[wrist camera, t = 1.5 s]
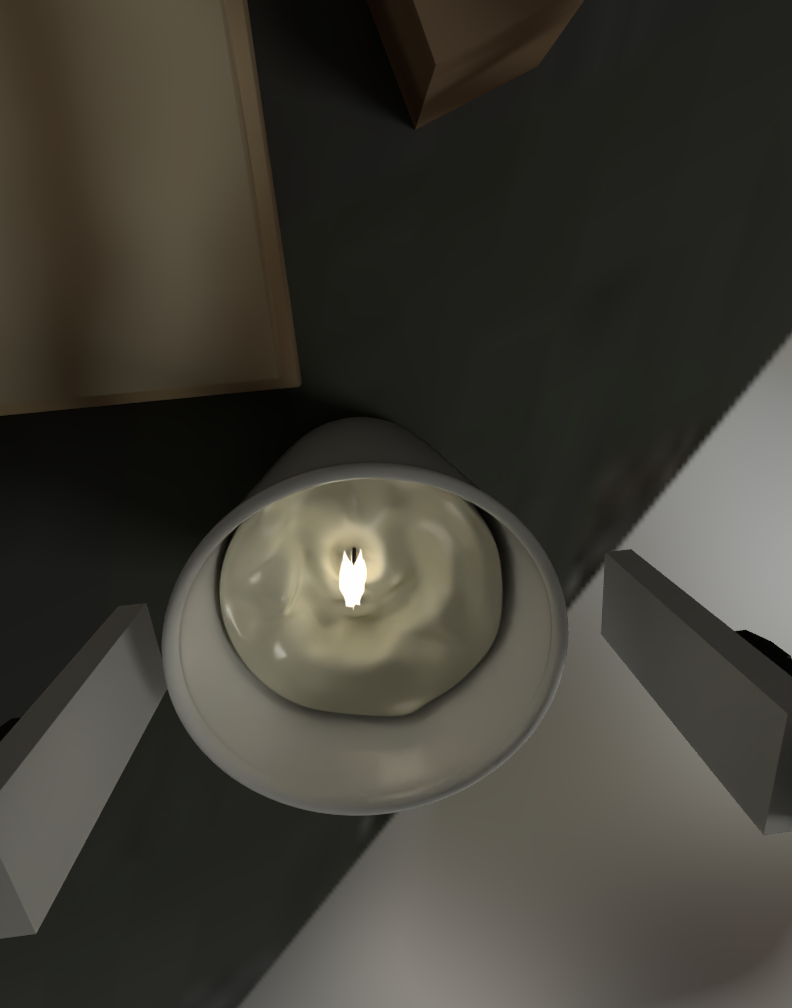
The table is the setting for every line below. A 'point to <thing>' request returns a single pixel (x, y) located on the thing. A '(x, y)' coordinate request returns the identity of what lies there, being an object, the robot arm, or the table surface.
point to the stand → (136, 207)
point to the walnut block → (463, 46)
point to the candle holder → (364, 628)
